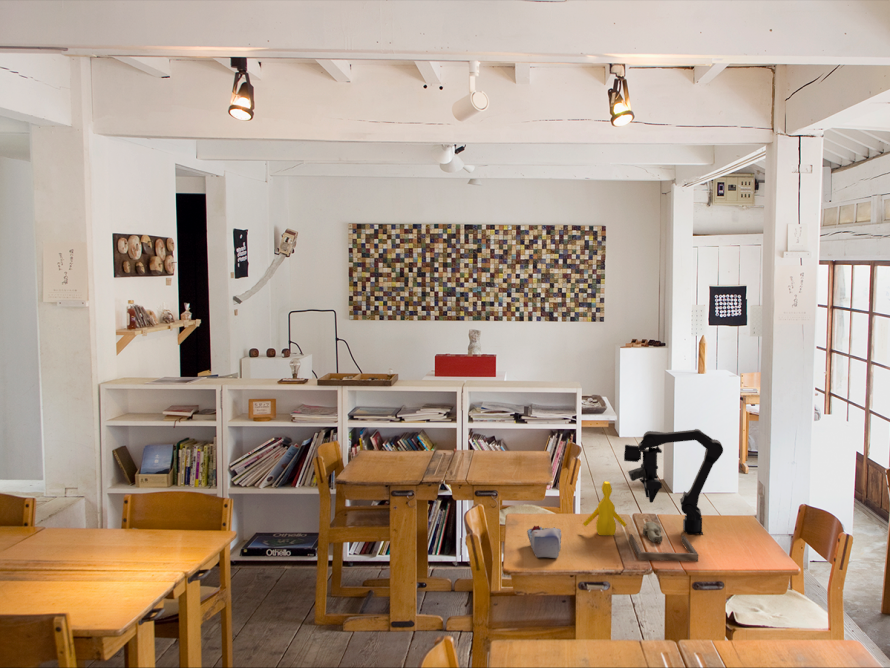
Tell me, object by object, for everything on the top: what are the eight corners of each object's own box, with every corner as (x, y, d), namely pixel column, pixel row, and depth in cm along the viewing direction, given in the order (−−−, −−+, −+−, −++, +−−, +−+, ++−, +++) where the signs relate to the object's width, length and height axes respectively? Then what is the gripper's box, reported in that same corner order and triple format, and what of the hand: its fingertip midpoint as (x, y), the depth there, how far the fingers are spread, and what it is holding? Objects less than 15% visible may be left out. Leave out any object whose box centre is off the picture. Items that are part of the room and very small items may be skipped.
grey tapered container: (531, 532, 273) (526, 516, 293) (531, 561, 274) (526, 543, 294) (567, 531, 273) (559, 516, 293) (567, 560, 274) (559, 543, 293)
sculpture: (668, 546, 291) (657, 530, 306) (668, 534, 290) (657, 519, 305) (650, 547, 291) (640, 531, 306) (650, 535, 290) (640, 520, 305)
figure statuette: (625, 531, 306) (626, 478, 305) (629, 537, 298) (630, 483, 297) (581, 530, 307) (582, 478, 305) (584, 537, 299) (585, 483, 298)
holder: (684, 541, 294) (684, 535, 293) (698, 561, 273) (698, 554, 273) (629, 540, 295) (629, 534, 295) (638, 559, 275) (638, 553, 274)
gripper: (626, 457, 318) (625, 493, 319) (633, 467, 299) (633, 506, 300) (652, 457, 317) (652, 493, 318) (662, 468, 298) (661, 506, 299)
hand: (649, 499), depth 309 cm, fingers open, 7 cm apart
